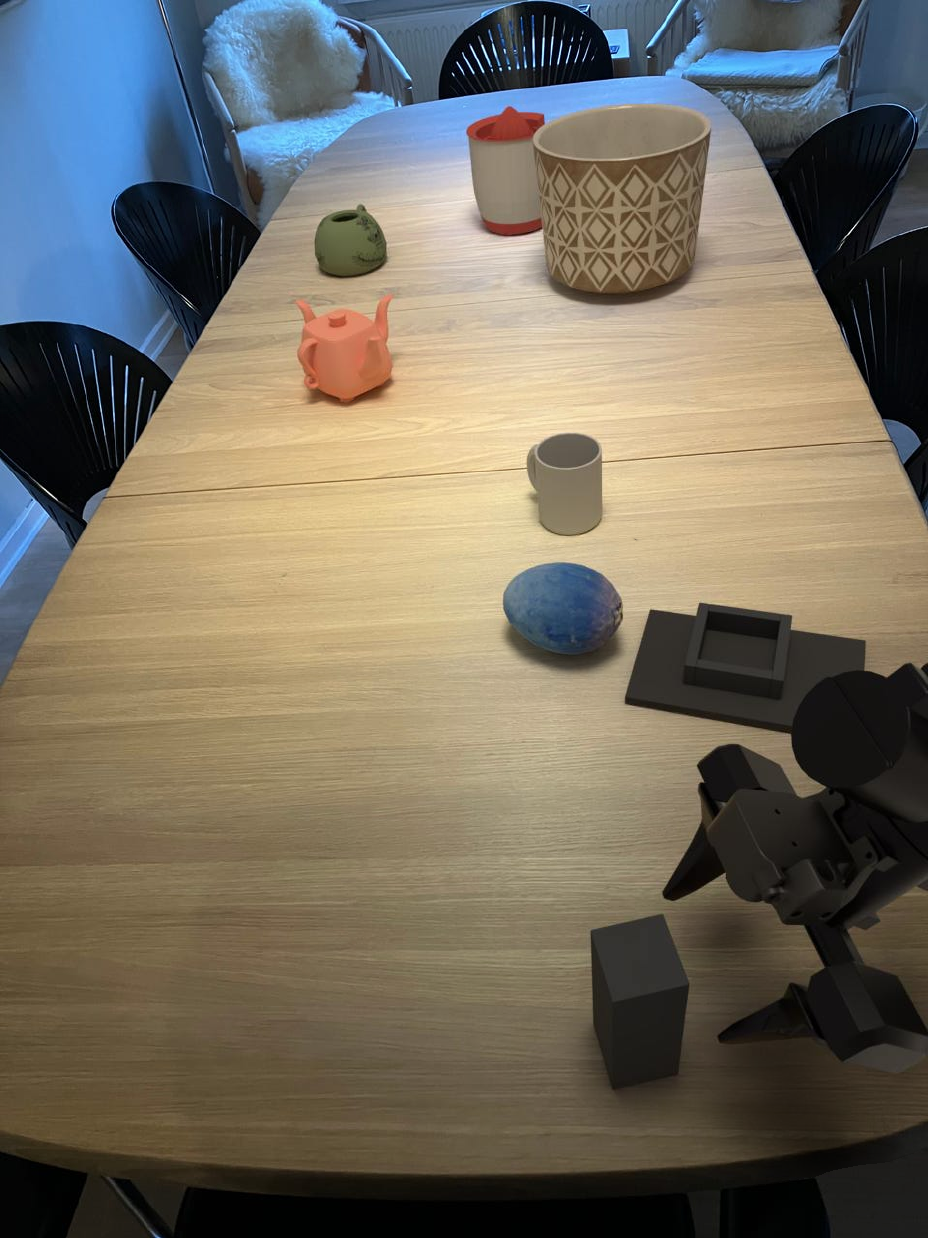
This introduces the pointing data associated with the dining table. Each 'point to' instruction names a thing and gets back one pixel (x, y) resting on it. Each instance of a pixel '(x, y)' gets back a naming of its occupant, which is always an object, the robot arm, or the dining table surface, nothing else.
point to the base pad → (734, 665)
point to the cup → (567, 482)
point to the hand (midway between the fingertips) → (693, 965)
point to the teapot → (345, 350)
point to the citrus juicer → (506, 171)
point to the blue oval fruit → (563, 607)
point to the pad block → (638, 1000)
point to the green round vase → (349, 242)
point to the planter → (621, 194)
